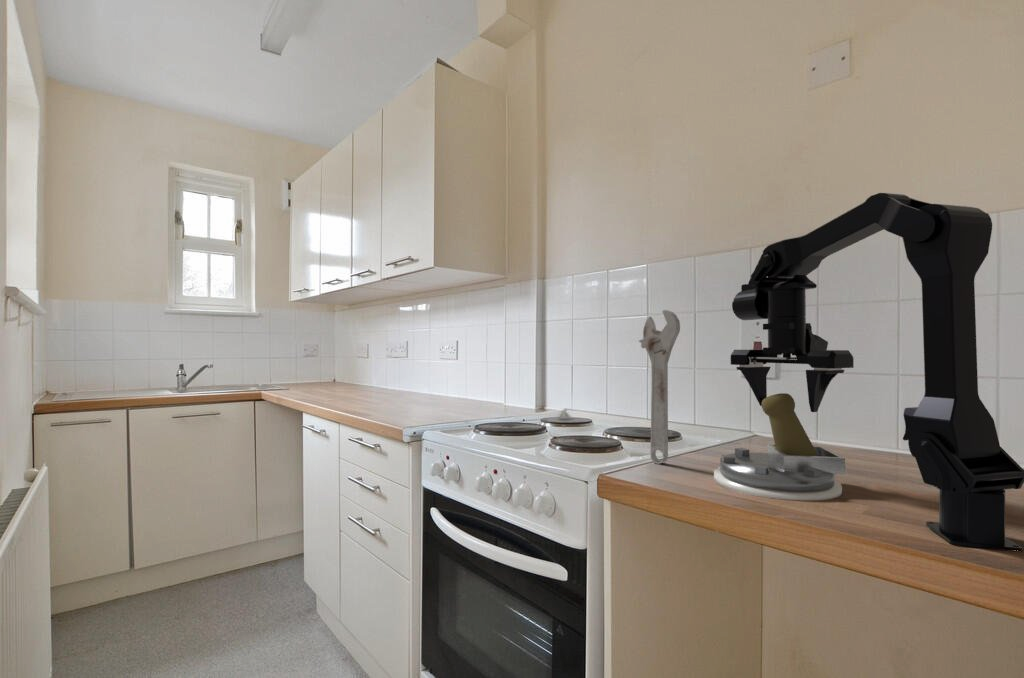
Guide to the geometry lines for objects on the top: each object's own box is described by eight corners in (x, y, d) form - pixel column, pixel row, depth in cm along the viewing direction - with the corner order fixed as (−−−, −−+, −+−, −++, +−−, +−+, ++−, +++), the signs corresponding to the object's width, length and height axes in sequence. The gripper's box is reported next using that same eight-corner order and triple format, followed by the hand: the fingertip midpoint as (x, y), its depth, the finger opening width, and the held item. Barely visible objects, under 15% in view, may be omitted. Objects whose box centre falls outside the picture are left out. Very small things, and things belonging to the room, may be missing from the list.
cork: (772, 462, 87) (750, 401, 90) (806, 455, 87) (783, 394, 90) (788, 461, 81) (764, 395, 85) (824, 453, 81) (799, 387, 85)
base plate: (860, 508, 72) (860, 499, 72) (718, 495, 78) (718, 487, 78) (822, 473, 91) (822, 466, 91) (710, 465, 96) (710, 458, 96)
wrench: (637, 460, 100) (638, 310, 100) (642, 458, 102) (642, 311, 102) (675, 467, 95) (676, 309, 95) (680, 465, 96) (680, 309, 96)
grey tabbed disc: (732, 487, 78) (732, 459, 78) (711, 461, 94) (711, 437, 94) (857, 495, 74) (857, 465, 74) (813, 466, 91) (813, 441, 91)
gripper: (872, 315, 81) (873, 412, 81) (767, 320, 98) (768, 401, 98) (831, 314, 76) (832, 417, 76) (728, 319, 93) (728, 404, 92)
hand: (787, 408), depth 86 cm, fingers open, 9 cm apart
